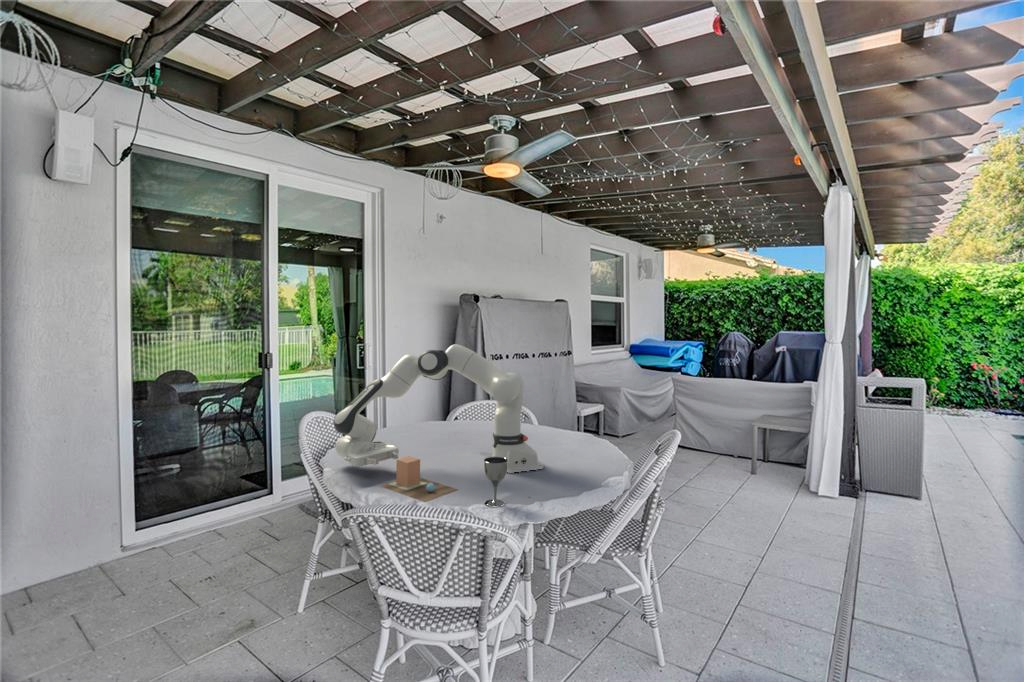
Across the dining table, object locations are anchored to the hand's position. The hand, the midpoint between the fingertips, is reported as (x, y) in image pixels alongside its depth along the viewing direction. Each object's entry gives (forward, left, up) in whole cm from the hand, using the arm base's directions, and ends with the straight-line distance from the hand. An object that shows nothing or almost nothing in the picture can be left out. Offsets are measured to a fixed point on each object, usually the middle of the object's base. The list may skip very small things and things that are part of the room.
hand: (387, 459), depth 196 cm
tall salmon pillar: (-8, +9, -7) cm, 14 cm away
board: (-12, +14, -8) cm, 20 cm away
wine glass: (-37, +31, -8) cm, 48 cm away
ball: (-16, +19, -5) cm, 25 cm away
